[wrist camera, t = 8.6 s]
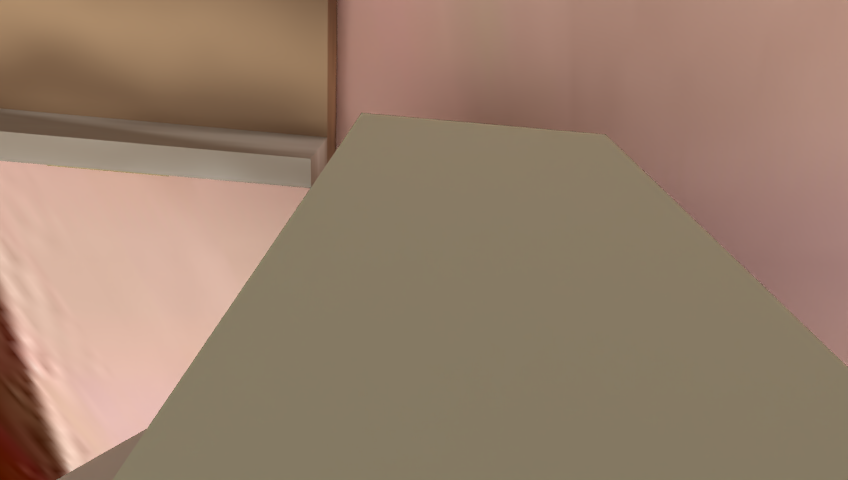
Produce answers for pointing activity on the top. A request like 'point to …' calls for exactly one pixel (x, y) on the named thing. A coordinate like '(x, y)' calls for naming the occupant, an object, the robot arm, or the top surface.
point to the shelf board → (171, 87)
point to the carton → (498, 331)
